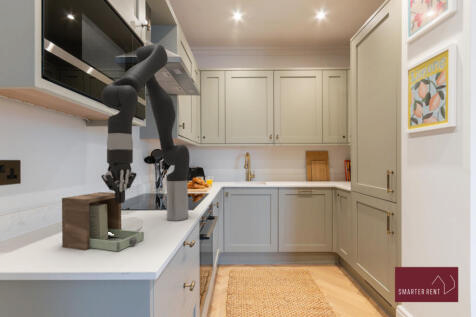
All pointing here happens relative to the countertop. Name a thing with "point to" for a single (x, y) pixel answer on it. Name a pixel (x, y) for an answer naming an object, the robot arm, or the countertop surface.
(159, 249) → the countertop surface
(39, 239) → the countertop surface
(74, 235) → the walnut shelf
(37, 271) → the countertop surface
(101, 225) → the skincare box
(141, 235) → the sliding drawer
